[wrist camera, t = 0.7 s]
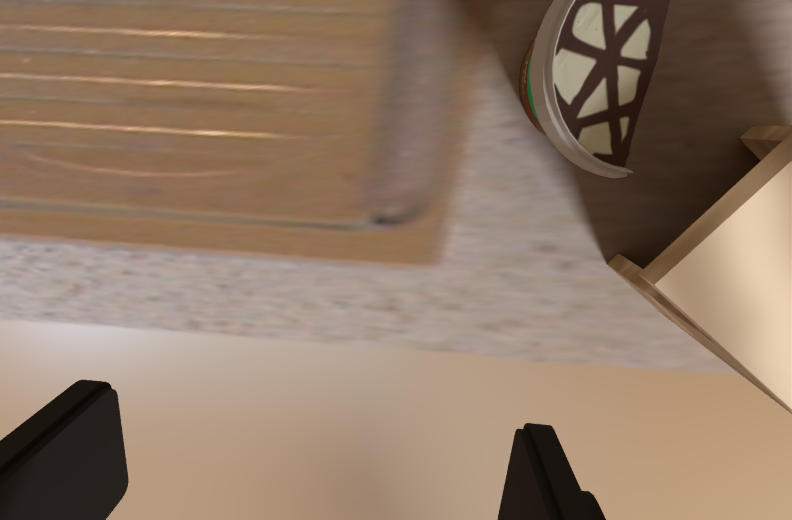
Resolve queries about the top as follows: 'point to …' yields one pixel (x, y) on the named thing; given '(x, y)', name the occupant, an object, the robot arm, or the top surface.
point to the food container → (592, 77)
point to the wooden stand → (735, 270)
